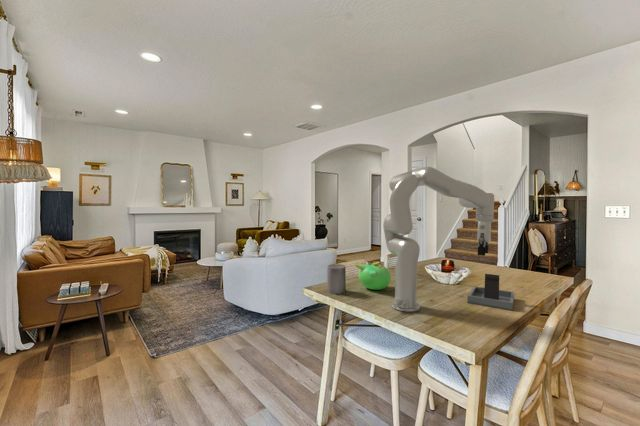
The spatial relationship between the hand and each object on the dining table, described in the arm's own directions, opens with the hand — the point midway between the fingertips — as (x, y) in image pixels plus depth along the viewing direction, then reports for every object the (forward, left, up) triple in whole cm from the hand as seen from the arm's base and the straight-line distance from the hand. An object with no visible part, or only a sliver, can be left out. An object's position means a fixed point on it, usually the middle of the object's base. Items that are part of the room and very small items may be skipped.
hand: (482, 254), depth 146 cm
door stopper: (+2, -4, -22) cm, 23 cm away
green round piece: (-13, +51, -23) cm, 57 cm away
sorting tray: (+2, -4, -23) cm, 23 cm away
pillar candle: (-29, +65, -23) cm, 75 cm away
